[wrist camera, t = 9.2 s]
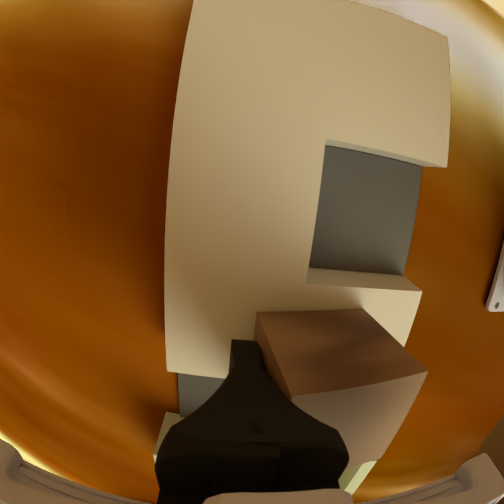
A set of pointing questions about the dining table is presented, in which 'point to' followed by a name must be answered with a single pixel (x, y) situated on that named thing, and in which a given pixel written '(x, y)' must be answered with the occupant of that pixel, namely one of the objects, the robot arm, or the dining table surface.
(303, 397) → the walnut block
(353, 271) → the board
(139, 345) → the dining table surface
